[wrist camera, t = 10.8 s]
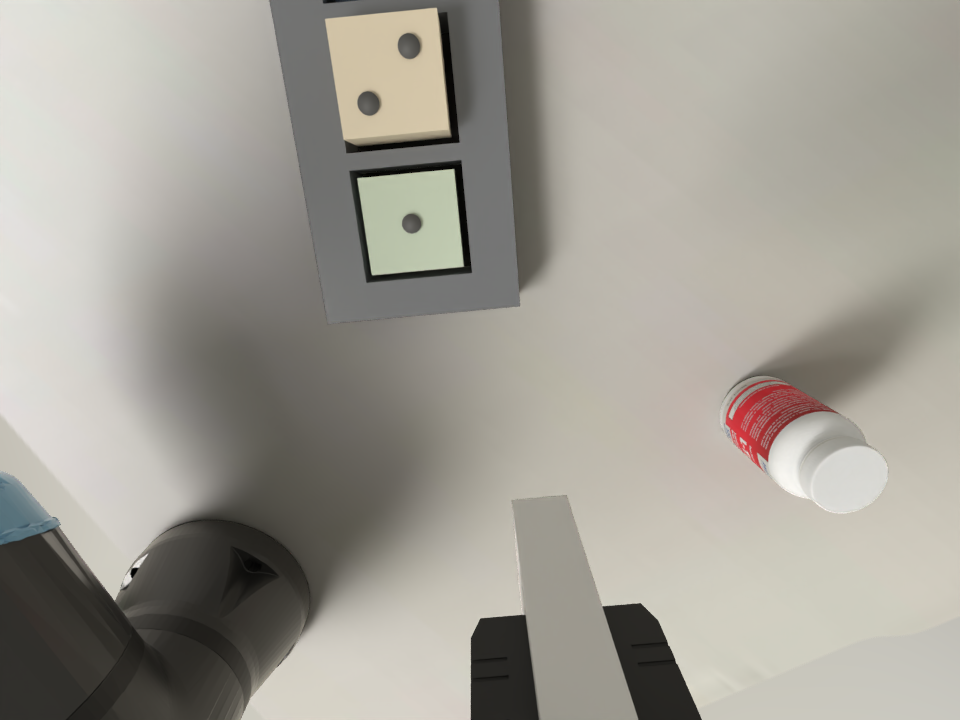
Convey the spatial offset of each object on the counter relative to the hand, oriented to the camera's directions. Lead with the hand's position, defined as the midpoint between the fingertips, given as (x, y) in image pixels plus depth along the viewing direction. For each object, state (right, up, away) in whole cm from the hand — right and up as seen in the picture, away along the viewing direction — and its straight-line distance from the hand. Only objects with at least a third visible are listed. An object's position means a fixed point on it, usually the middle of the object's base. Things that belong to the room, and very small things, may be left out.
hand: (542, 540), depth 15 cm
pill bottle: (+20, +1, +28) cm, 34 cm away
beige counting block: (-7, +22, +18) cm, 29 cm away
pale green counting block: (-6, +15, +23) cm, 28 cm away
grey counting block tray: (-7, +22, +21) cm, 31 cm away
